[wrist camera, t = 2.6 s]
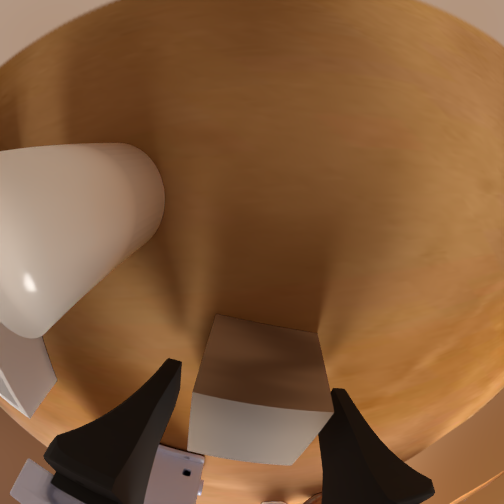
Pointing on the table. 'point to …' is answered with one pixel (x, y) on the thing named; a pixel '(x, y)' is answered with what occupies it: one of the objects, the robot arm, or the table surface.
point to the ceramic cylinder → (69, 225)
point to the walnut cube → (258, 393)
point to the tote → (24, 371)
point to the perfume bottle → (273, 502)
